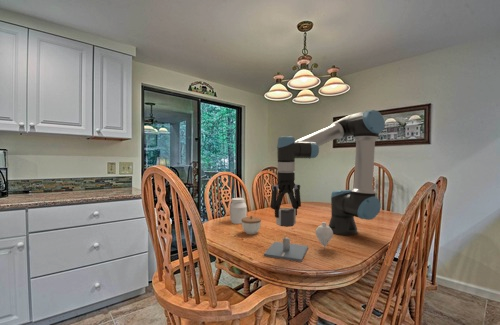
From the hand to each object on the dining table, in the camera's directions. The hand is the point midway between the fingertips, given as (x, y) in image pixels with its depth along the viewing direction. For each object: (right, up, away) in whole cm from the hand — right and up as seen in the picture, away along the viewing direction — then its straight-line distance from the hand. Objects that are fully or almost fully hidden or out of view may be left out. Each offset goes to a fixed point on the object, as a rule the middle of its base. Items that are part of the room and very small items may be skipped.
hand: (286, 223), depth 107 cm
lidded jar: (-15, -12, +28) cm, 34 cm away
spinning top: (+18, -12, +4) cm, 22 cm away
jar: (-24, -12, +52) cm, 59 cm away
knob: (0, 0, 0) cm, 0 cm away
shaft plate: (0, -13, 0) cm, 13 cm away
